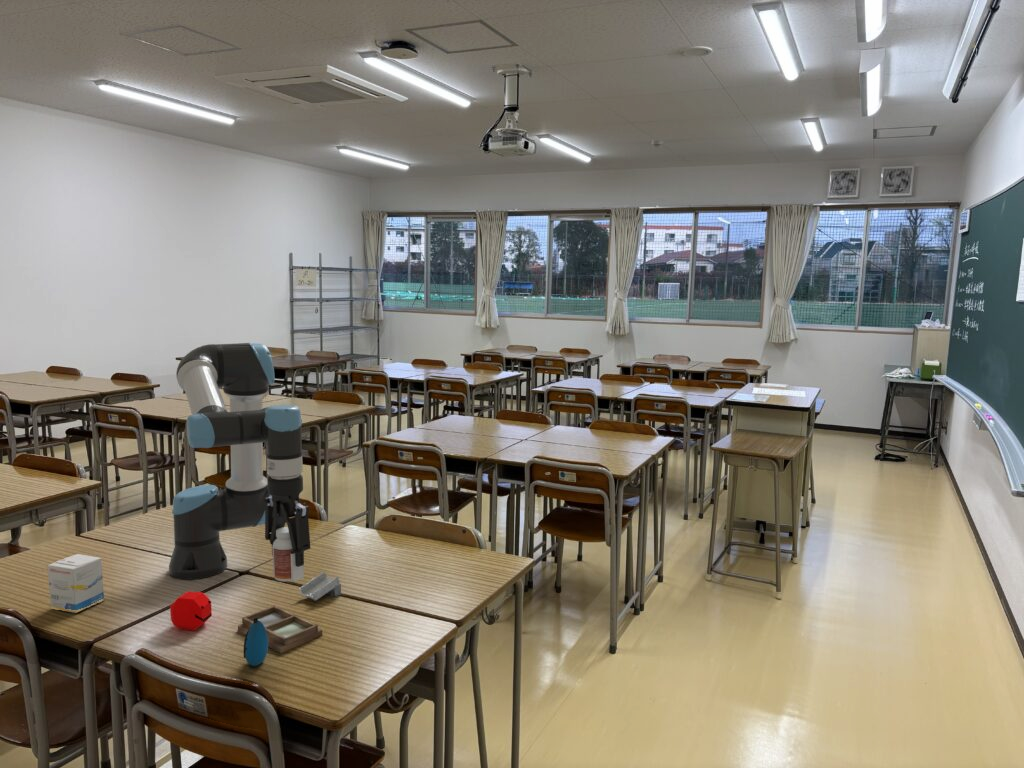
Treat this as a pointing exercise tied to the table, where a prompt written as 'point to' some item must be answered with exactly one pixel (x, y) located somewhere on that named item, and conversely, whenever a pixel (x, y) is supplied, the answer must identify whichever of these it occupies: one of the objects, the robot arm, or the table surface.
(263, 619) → the divided sorting tray
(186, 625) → the ball
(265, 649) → the ornament
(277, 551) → the pill bottle
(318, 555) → the table surface
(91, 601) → the ink box
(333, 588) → the feeder chute
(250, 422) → the robot arm
